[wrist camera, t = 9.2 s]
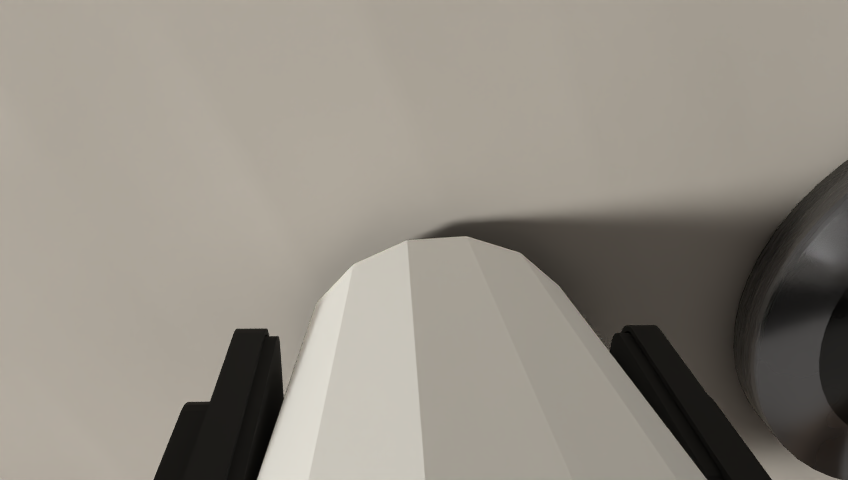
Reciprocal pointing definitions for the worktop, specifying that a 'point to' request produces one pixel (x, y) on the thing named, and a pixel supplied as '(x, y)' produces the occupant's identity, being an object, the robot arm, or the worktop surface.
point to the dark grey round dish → (801, 330)
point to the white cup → (461, 379)
